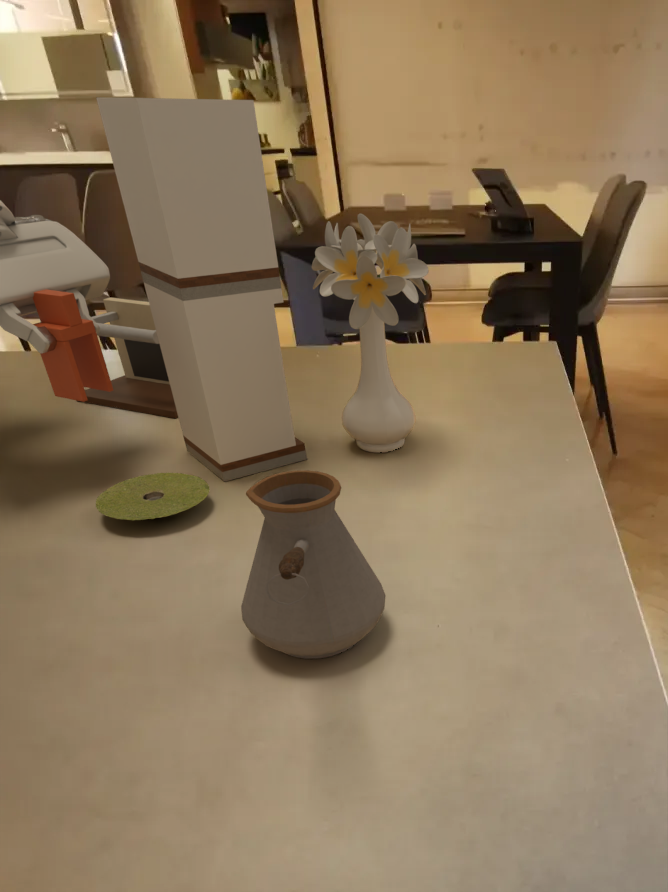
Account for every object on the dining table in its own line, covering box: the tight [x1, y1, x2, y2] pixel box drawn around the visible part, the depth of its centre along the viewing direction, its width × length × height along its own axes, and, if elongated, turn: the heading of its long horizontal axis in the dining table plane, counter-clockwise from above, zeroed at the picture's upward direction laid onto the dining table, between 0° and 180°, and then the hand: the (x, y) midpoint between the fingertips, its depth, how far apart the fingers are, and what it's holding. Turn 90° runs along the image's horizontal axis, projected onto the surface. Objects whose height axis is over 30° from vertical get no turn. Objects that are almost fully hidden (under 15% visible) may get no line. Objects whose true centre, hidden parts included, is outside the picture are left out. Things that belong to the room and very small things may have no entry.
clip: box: [32, 289, 113, 403], centre depth 73 cm, size 4×4×10 cm
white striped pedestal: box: [95, 96, 308, 482], centre depth 76 cm, size 11×11×35 cm
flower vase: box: [311, 213, 430, 454], centre depth 82 cm, size 13×18×25 cm
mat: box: [95, 472, 210, 521], centre depth 74 cm, size 11×11×2 cm
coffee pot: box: [240, 469, 387, 660], centre depth 50 cm, size 21×12×15 cm, turn 11°
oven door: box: [75, 297, 179, 419], centre depth 100 cm, size 11×18×12 cm, turn 68°
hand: (72, 341), depth 72 cm, fingers closed on clip, 4 cm apart
